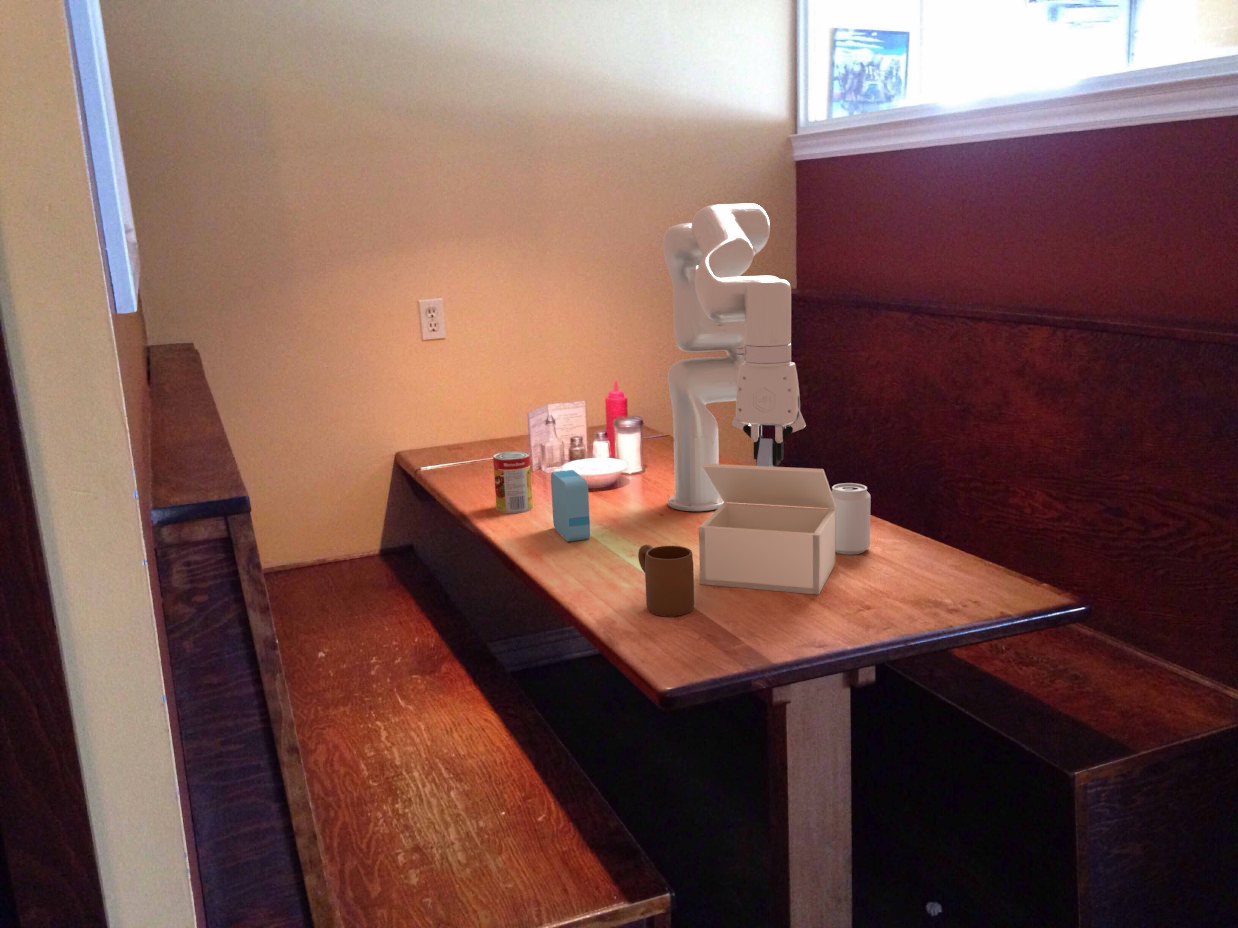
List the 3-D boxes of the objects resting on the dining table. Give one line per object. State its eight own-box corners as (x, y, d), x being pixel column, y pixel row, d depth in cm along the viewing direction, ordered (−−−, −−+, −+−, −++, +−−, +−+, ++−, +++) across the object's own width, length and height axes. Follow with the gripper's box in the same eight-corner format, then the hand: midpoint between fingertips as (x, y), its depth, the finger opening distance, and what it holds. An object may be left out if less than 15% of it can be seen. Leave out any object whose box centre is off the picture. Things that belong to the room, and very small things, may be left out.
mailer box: (724, 555, 191) (723, 502, 189) (835, 564, 184) (835, 509, 182) (699, 584, 177) (698, 527, 174) (818, 594, 169) (819, 535, 167)
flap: (724, 502, 189) (728, 473, 191) (835, 508, 182) (839, 479, 184) (703, 466, 175) (708, 436, 177) (822, 472, 168) (826, 440, 170)
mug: (622, 599, 171) (620, 544, 169) (661, 589, 175) (659, 535, 172) (664, 621, 161) (662, 563, 159) (704, 610, 165) (702, 553, 162)
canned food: (525, 502, 234) (522, 449, 231) (537, 509, 227) (534, 455, 224) (491, 507, 231) (488, 454, 228) (503, 515, 224) (500, 460, 221)
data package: (590, 540, 203) (588, 481, 201) (568, 543, 202) (565, 483, 199) (574, 525, 214) (571, 468, 212) (553, 527, 213) (550, 470, 210)
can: (871, 544, 194) (872, 482, 191) (867, 557, 187) (868, 492, 185) (831, 542, 197) (831, 480, 194) (825, 554, 190) (825, 490, 187)
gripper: (715, 357, 172) (716, 467, 176) (812, 358, 166) (811, 471, 170) (727, 352, 178) (728, 457, 182) (820, 352, 173) (820, 461, 177)
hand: (768, 463), depth 176 cm, fingers closed on flap, 2 cm apart
